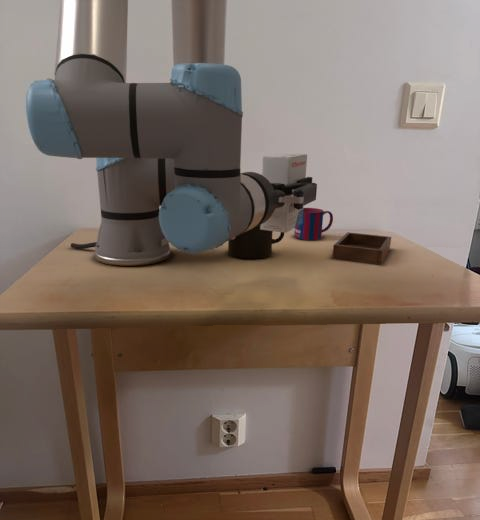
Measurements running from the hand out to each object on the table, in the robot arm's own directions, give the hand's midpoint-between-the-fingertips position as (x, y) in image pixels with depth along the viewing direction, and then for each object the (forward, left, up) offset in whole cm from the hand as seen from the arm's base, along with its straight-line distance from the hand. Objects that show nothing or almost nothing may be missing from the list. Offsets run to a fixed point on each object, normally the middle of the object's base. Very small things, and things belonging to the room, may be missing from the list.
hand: (293, 183), depth 85 cm
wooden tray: (+10, +23, -17) cm, 30 cm away
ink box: (0, -5, -7) cm, 9 cm away
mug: (-11, +12, -17) cm, 24 cm away
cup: (-4, +34, -17) cm, 38 cm away
